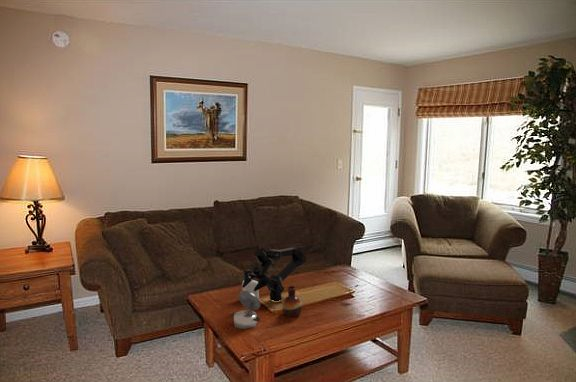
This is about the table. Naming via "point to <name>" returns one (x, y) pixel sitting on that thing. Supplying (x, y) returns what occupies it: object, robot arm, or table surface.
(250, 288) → the photo printer
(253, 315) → the cooker pot
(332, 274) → the table surface
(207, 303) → the table surface
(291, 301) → the vase
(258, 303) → the cooker lid
